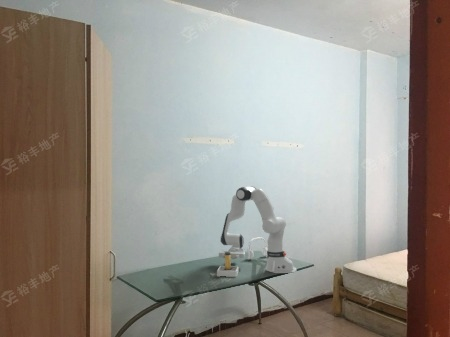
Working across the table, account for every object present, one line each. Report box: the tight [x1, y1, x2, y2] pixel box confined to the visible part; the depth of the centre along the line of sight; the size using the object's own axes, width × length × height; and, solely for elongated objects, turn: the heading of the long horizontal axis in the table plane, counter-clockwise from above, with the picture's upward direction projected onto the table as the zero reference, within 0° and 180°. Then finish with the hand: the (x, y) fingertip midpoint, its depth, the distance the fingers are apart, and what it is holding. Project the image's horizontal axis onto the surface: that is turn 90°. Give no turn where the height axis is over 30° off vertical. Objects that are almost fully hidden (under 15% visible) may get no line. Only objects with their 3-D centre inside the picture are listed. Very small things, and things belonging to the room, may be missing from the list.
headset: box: [247, 236, 268, 260], centre depth 290 cm, size 20×7×18 cm, turn 122°
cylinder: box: [224, 252, 232, 270], centre depth 245 cm, size 4×4×14 cm
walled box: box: [216, 265, 240, 278], centre depth 244 cm, size 14×13×4 cm
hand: (229, 257), depth 251 cm, fingers open, 8 cm apart
